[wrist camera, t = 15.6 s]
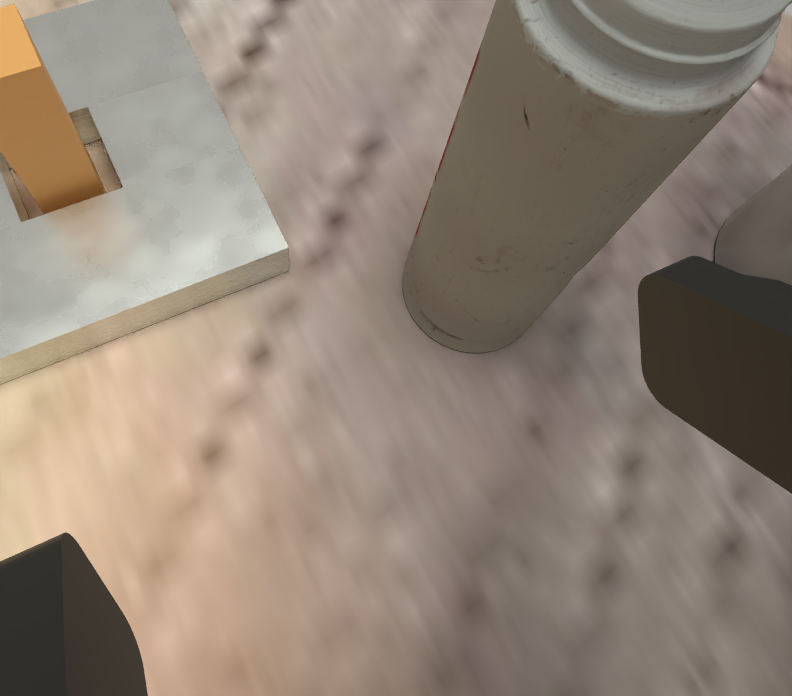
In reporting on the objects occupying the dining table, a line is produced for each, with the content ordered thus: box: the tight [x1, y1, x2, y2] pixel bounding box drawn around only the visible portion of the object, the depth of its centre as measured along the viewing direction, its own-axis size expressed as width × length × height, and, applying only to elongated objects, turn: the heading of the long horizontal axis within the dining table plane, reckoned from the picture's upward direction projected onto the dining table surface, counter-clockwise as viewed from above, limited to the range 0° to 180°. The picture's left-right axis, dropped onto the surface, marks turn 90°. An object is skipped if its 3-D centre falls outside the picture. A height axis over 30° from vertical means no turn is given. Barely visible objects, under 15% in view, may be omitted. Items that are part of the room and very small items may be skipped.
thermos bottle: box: [402, 0, 792, 353], centre depth 29 cm, size 8×8×28 cm
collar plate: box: [0, 0, 289, 384], centre depth 39 cm, size 18×18×3 cm
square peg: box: [0, 4, 106, 214], centre depth 35 cm, size 3×3×12 cm
